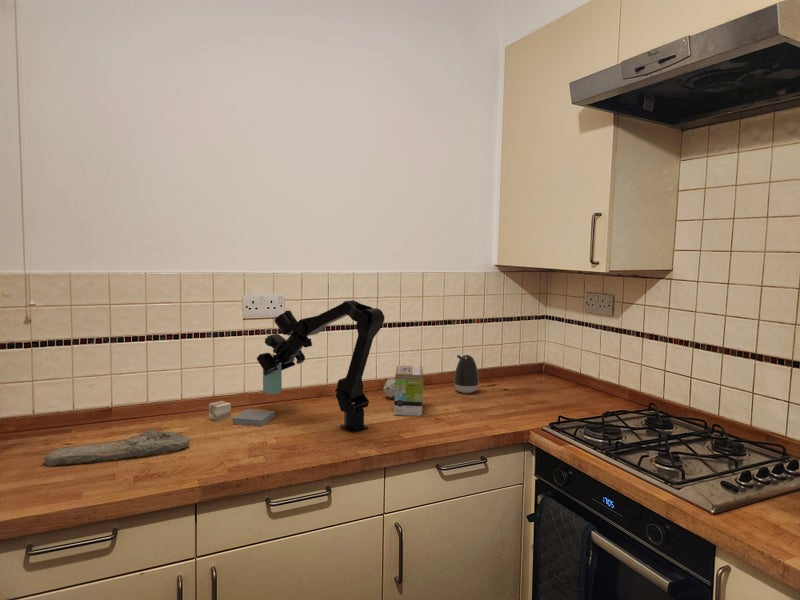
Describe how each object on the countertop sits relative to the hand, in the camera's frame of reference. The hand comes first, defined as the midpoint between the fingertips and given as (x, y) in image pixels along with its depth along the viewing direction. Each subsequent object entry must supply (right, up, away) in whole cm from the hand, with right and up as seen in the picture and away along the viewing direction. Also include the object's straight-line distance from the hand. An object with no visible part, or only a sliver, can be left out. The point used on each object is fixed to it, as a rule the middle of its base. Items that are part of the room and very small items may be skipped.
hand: (269, 373), depth 186 cm
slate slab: (-2, -14, -11) cm, 19 cm away
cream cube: (-14, -14, -9) cm, 22 cm away
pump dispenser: (+73, -12, +30) cm, 79 cm away
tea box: (+49, -14, +4) cm, 51 cm away
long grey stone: (-30, -17, -42) cm, 54 cm away
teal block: (+1, -7, 0) cm, 7 cm away
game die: (+43, -12, +18) cm, 49 cm away
